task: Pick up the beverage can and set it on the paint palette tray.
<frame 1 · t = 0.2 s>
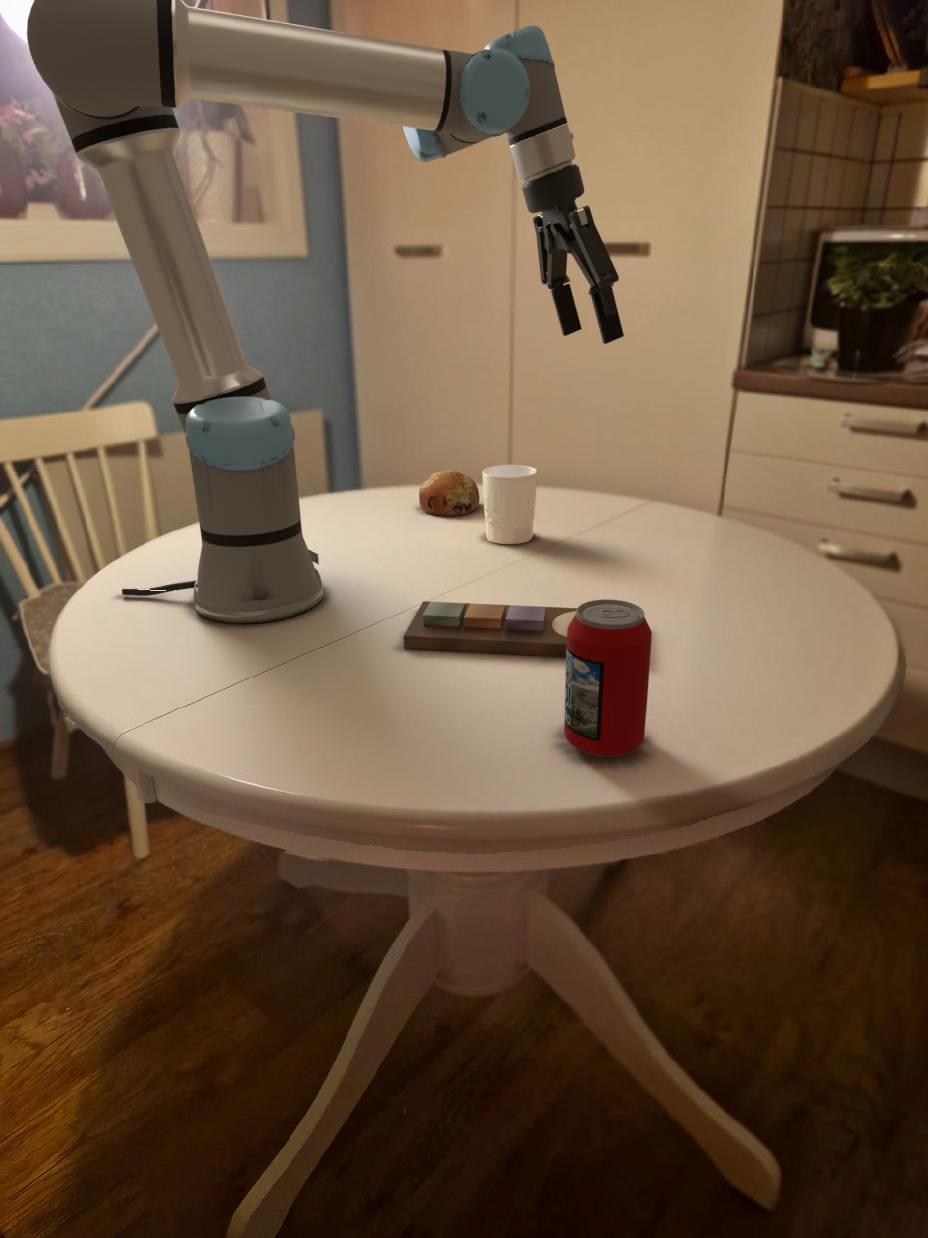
hand: (592, 336, 119), 28 cm above the table, tool tilted 20°, fingers open, 13 cm apart
white cup: (509, 539, 127), on the table
paint palette tray: (521, 635, 94), on the table
bread roll: (449, 509, 142), on the table
beverage can: (603, 744, 74), on the table
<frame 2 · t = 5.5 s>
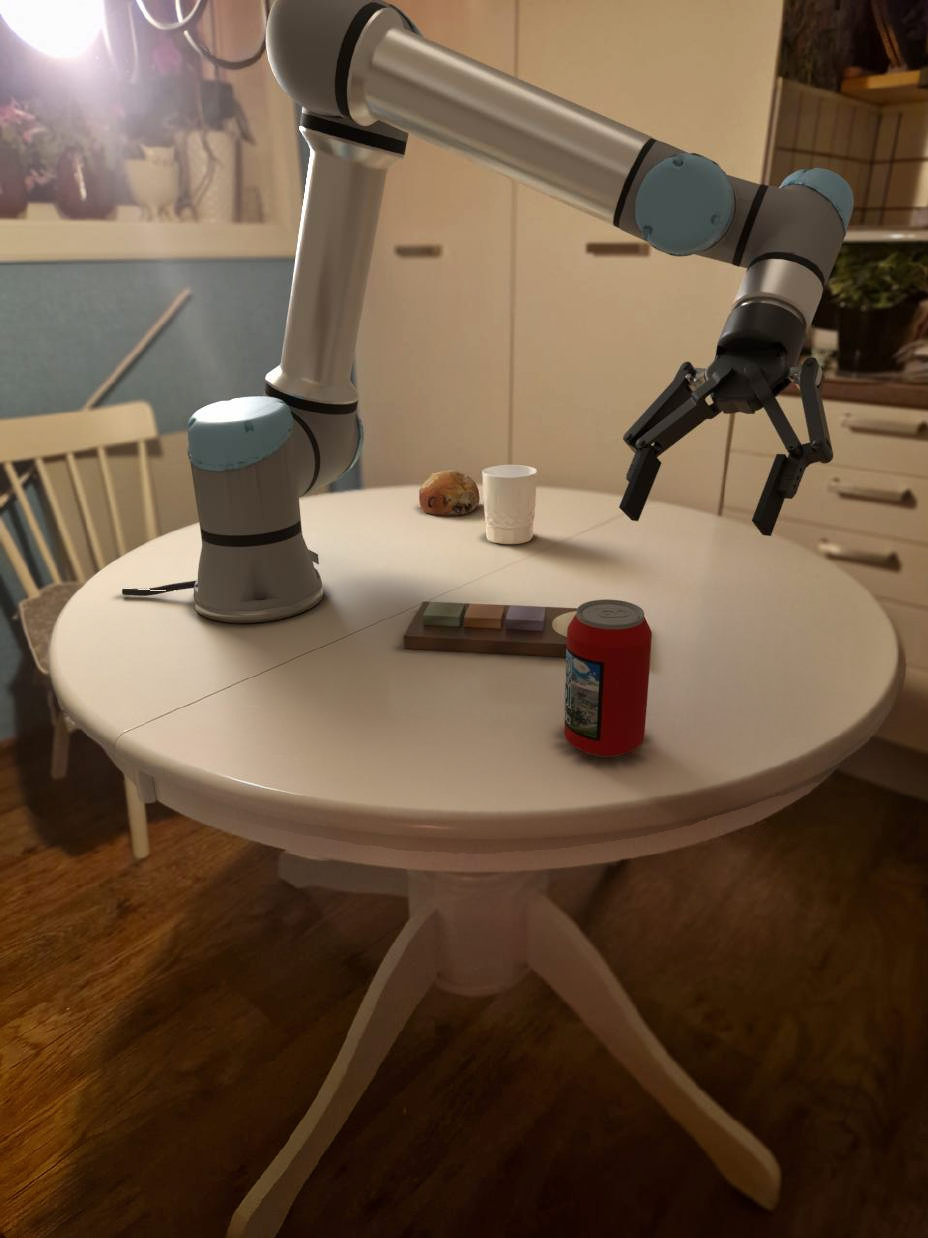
hand: (690, 521, 79), 16 cm above the table, tool tilted 40°, fingers open, 13 cm apart
nothing on the table moved.
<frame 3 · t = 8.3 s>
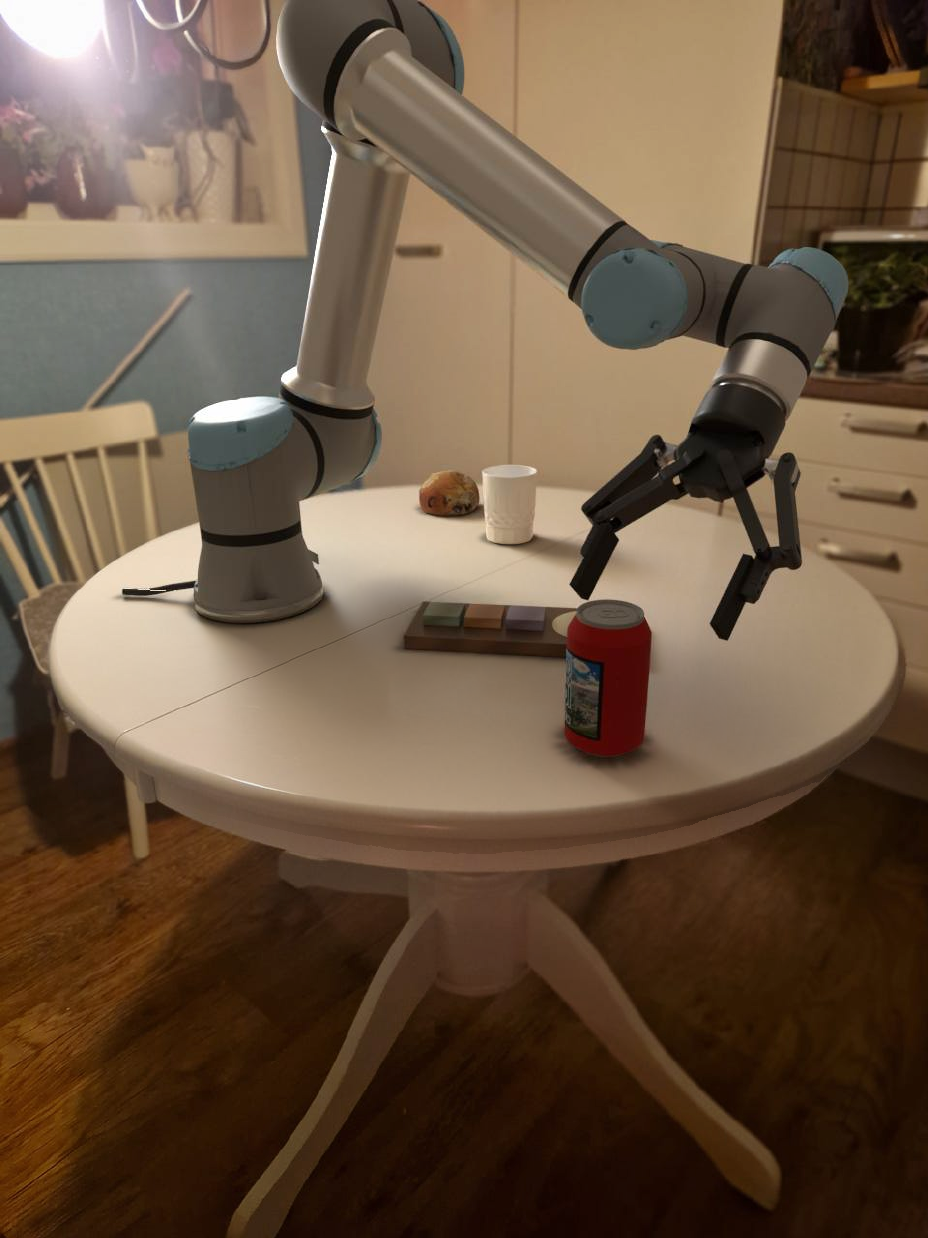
hand: (644, 611, 73), 10 cm above the table, tool tilted 45°, fingers open, 13 cm apart
nothing on the table moved.
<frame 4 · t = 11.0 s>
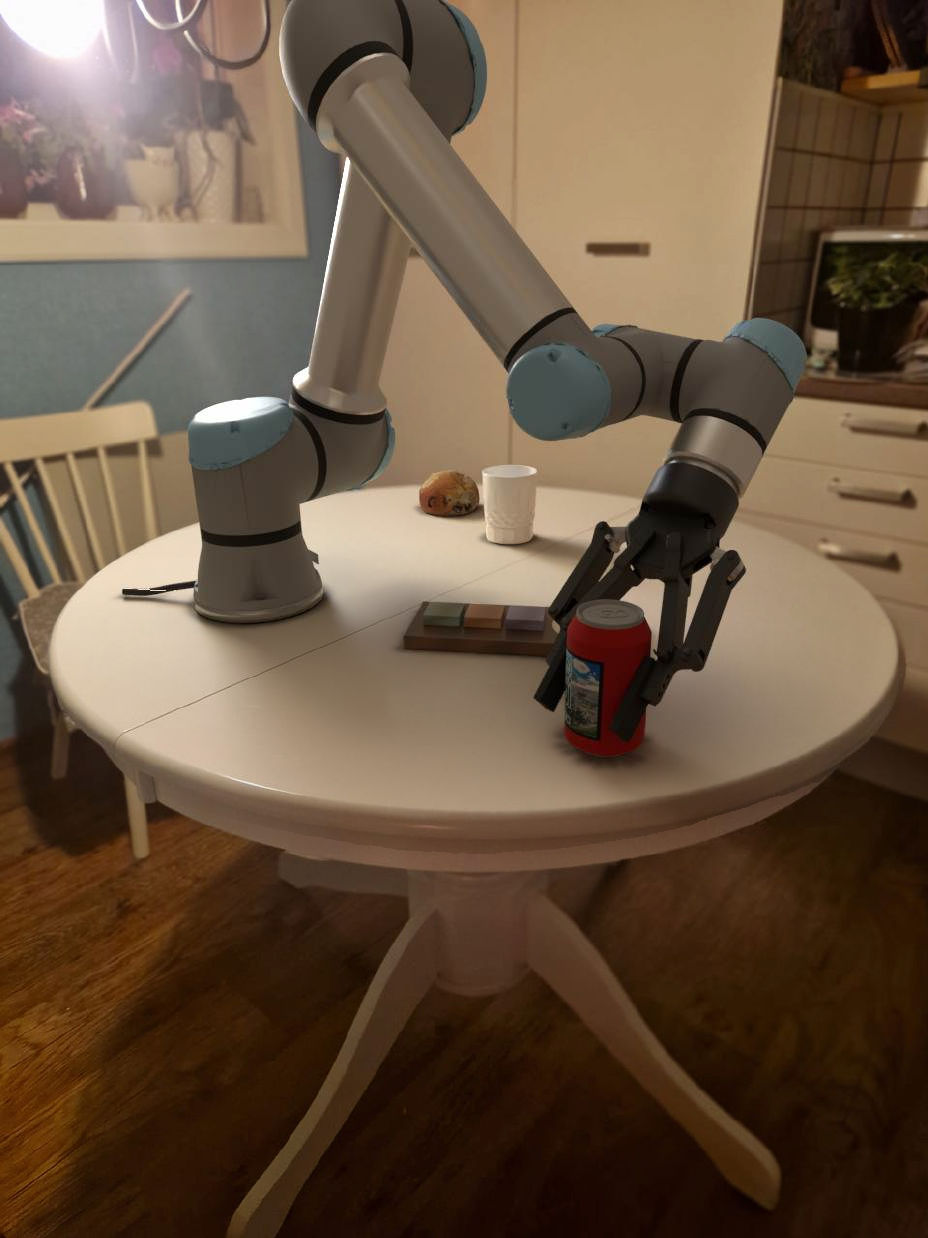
hand: (580, 719, 70), 4 cm above the table, tool tilted 45°, fingers closed on beverage can, 7 cm apart
beverage can: (603, 744, 74), on the table, touching gripper
everything else where it was.
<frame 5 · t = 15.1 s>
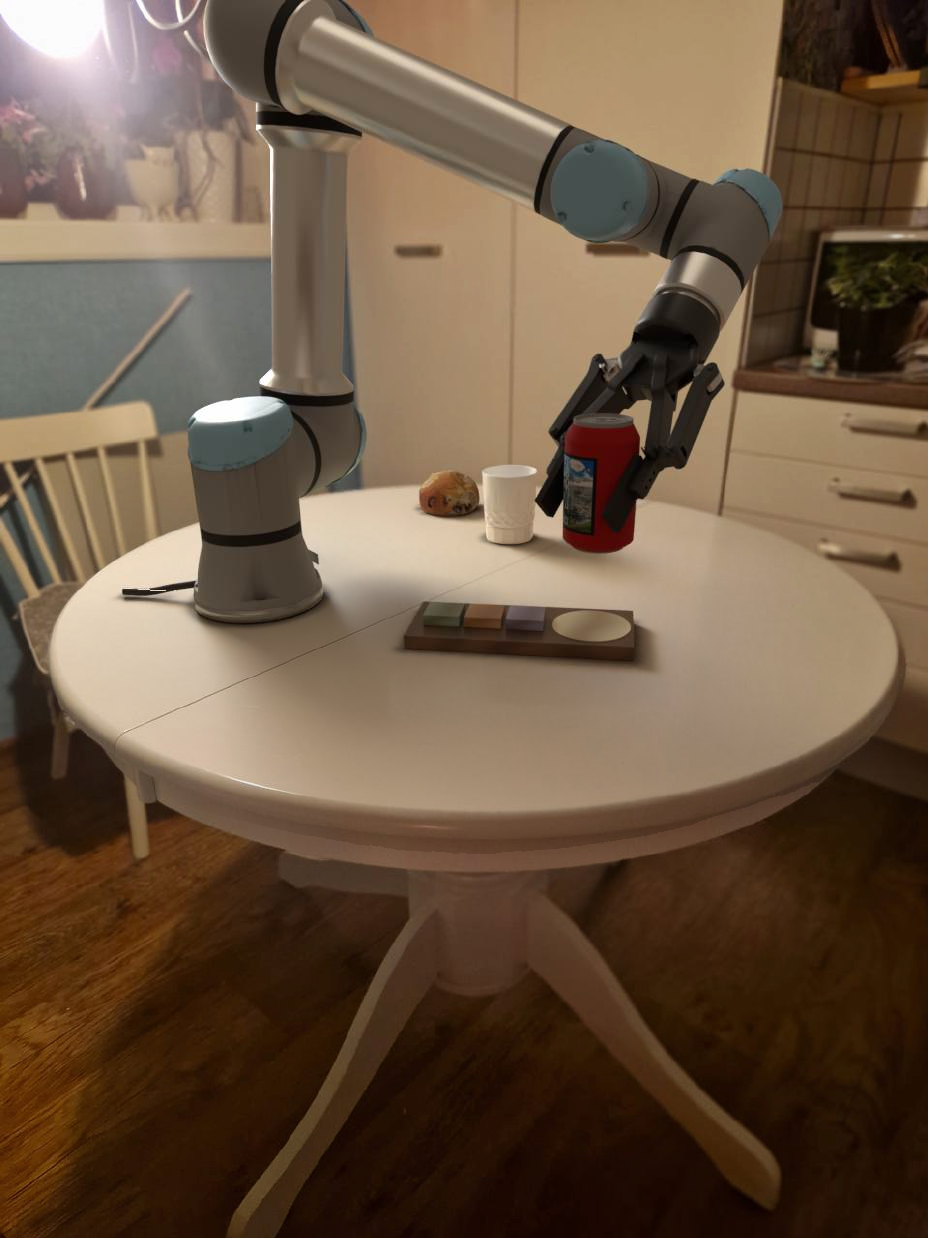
hand: (576, 516, 78), 16 cm above the table, tool tilted 45°, fingers closed on beverage can, 7 cm apart
beverage can: (597, 547, 82), point 12 cm above the table, touching gripper
everything else where it was.
when the fingers open (5 cm above the table, at t = 19.4 s): beverage can stays where it is, resting on paint palette tray.
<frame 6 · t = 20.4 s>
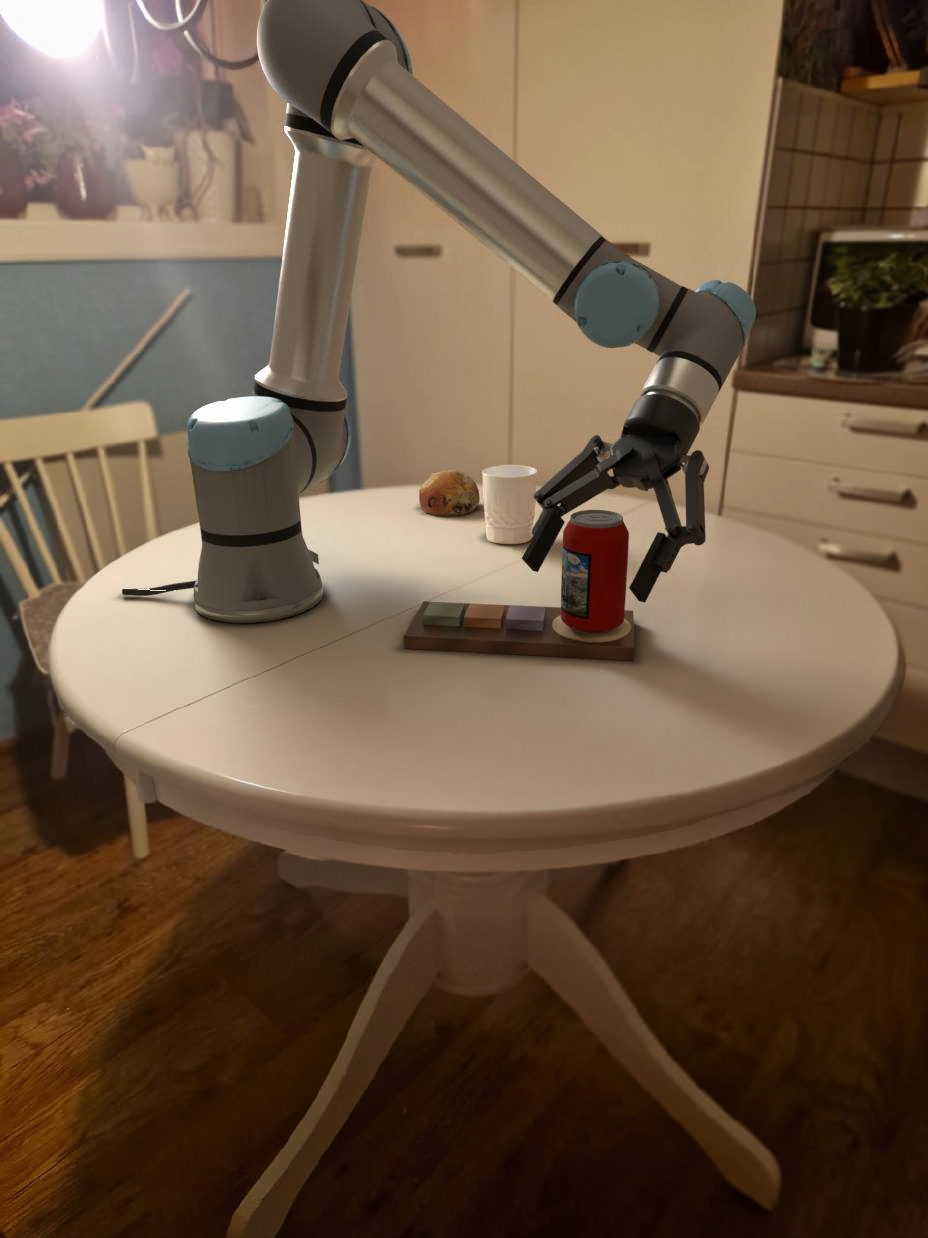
hand: (580, 580, 89), 7 cm above the table, tool tilted 45°, fingers open, 13 cm apart
beverage can: (591, 626, 93), point 1 cm above the table, touching paint palette tray
everything else where it was.
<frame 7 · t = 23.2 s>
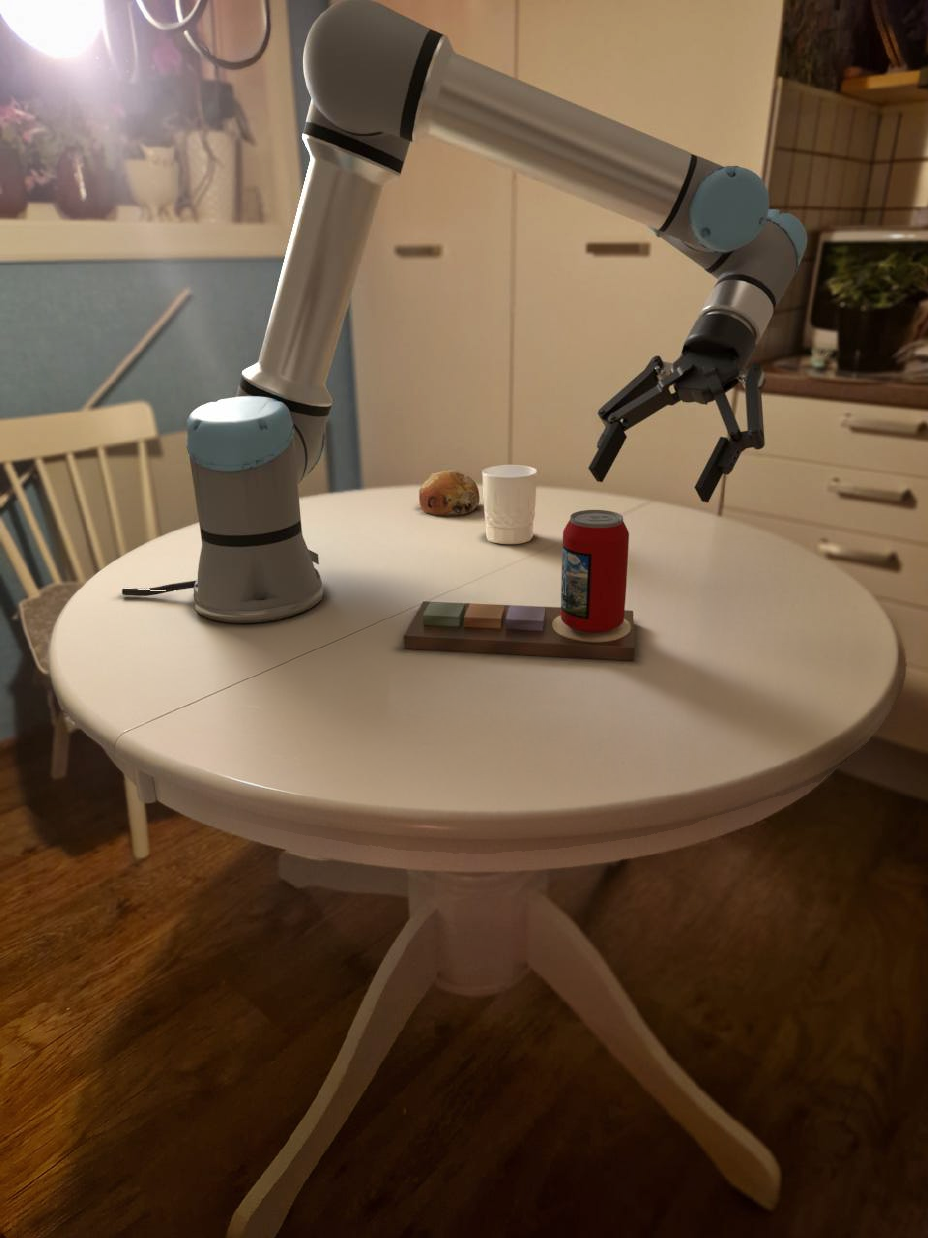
hand: (645, 485, 95), 15 cm above the table, tool tilted 45°, fingers open, 13 cm apart
nothing on the table moved.
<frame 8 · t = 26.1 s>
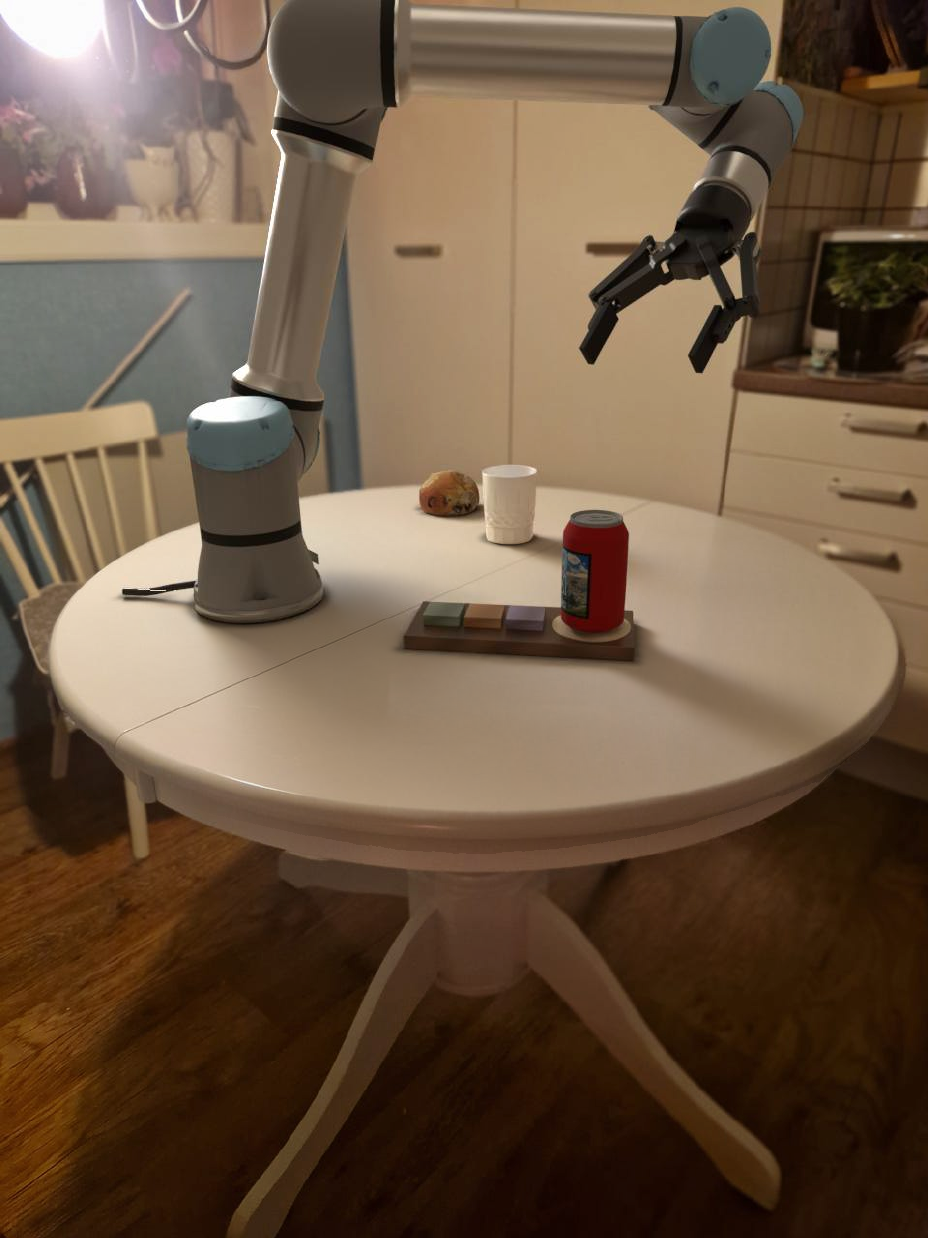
hand: (637, 360, 92), 28 cm above the table, tool tilted 45°, fingers open, 13 cm apart
nothing on the table moved.
at the end: beverage can 0.0 cm from the target spot on the paint palette tray, point 1.4 cm above the paint palette tray's base; beverage can tilted 0°; the gripper is holding nothing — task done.
